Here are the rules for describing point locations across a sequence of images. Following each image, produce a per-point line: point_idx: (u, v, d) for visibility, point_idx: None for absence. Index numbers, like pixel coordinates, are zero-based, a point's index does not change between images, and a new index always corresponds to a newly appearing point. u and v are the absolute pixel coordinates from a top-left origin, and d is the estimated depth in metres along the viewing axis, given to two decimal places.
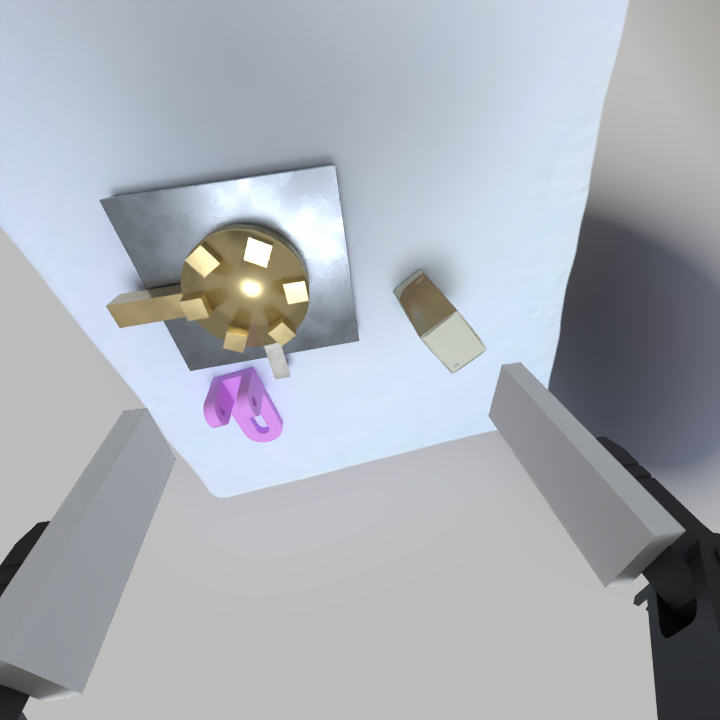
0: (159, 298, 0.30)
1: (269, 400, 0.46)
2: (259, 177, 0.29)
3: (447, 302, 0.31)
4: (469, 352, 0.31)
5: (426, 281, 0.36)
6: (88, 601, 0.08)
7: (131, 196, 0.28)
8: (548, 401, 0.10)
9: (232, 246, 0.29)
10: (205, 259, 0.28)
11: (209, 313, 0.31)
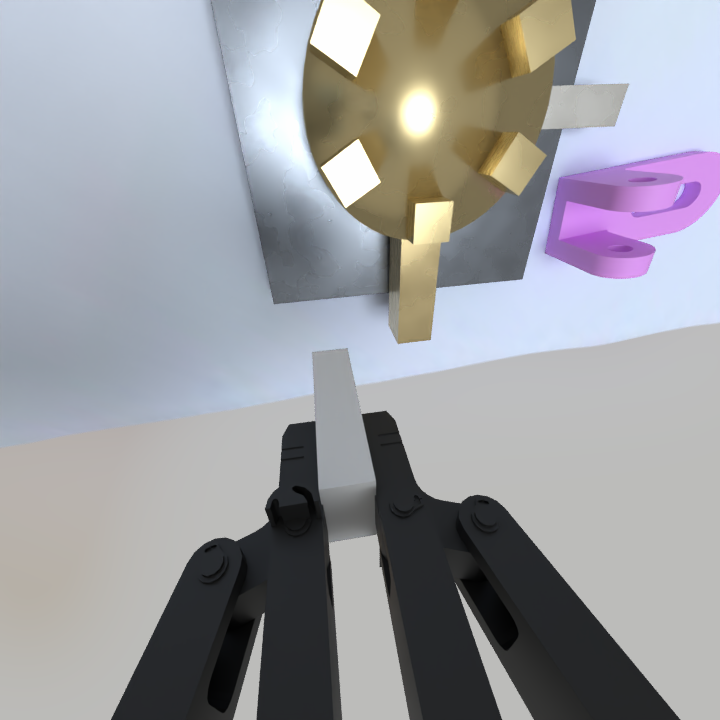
0: (401, 275, 0.20)
1: (640, 163, 0.23)
2: (217, 23, 0.15)
3: None
4: None
5: None
6: None
7: (267, 266, 0.21)
8: (345, 380, 0.12)
9: (333, 108, 0.15)
10: (347, 167, 0.15)
11: (446, 200, 0.17)
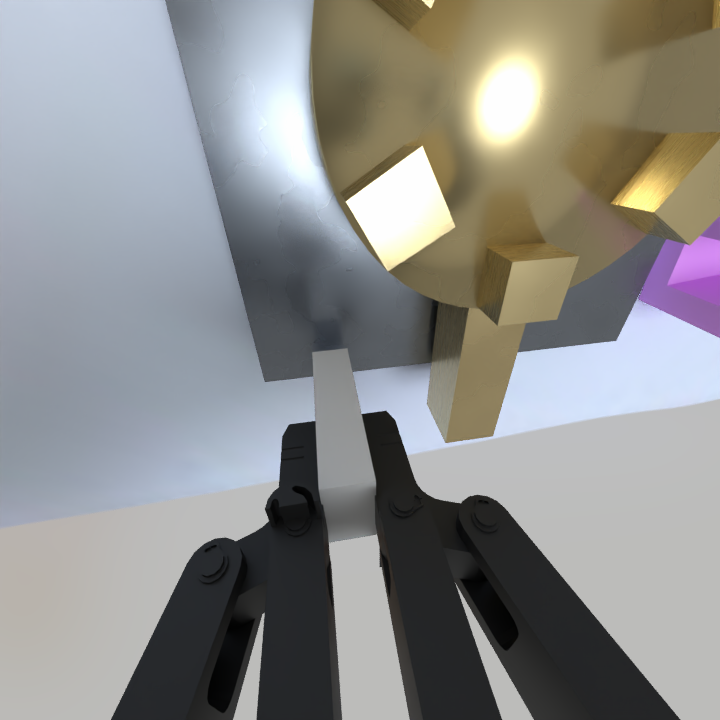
0: (462, 357, 0.13)
1: None
2: None
3: None
4: None
5: None
6: None
7: (254, 333, 0.14)
8: (345, 380, 0.12)
9: (370, 87, 0.07)
10: (397, 200, 0.07)
11: (561, 252, 0.09)
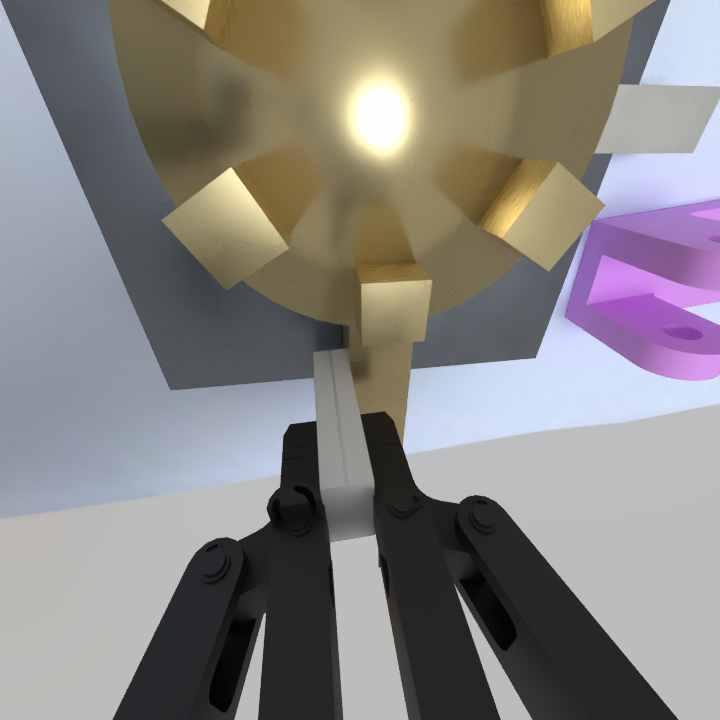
0: (352, 373, 0.12)
1: (709, 205, 0.16)
2: None
3: None
4: None
5: None
6: None
7: (151, 341, 0.14)
8: (344, 380, 0.12)
9: (192, 104, 0.07)
10: (217, 220, 0.07)
11: (420, 274, 0.09)
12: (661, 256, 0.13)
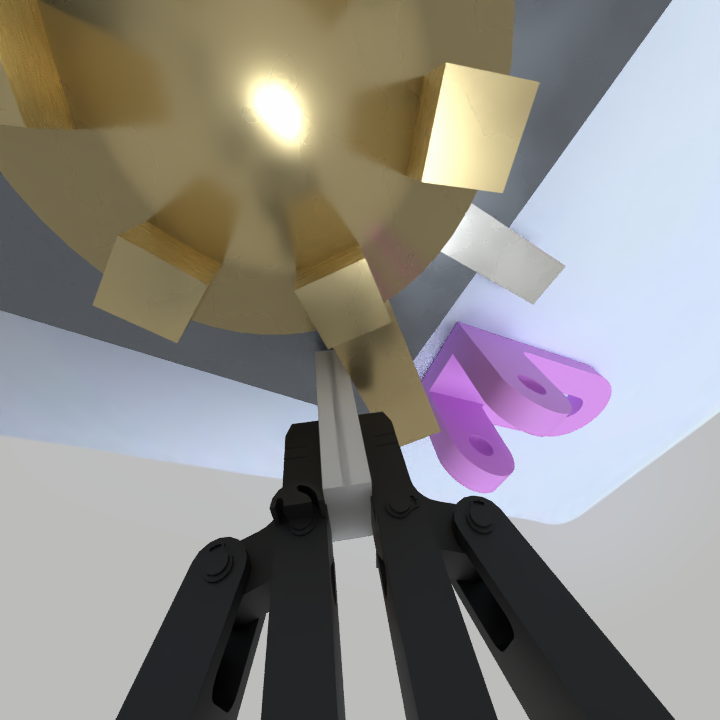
0: (350, 372, 0.12)
1: (540, 353, 0.19)
2: None
3: None
4: None
5: None
6: None
7: None
8: (342, 381, 0.12)
9: (80, 189, 0.08)
10: (134, 286, 0.08)
11: (355, 256, 0.08)
12: (483, 374, 0.15)
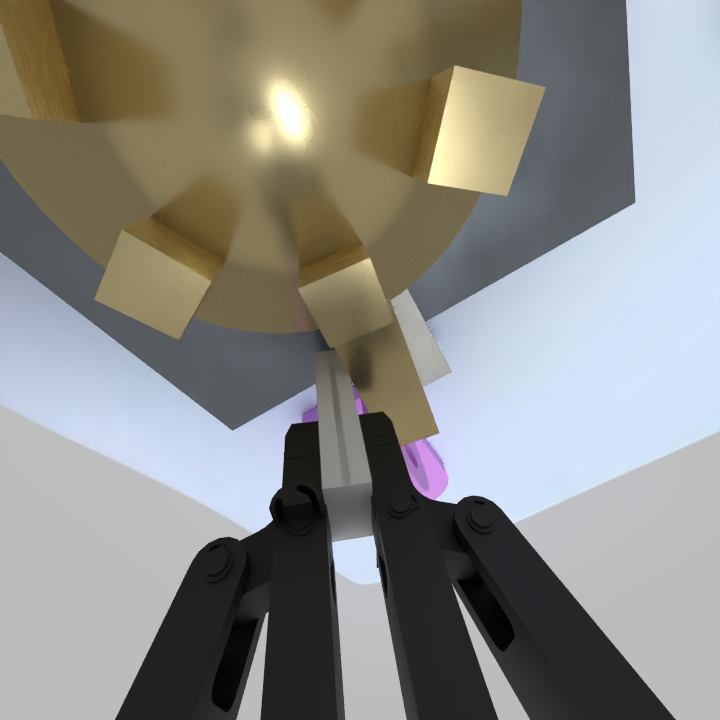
0: (350, 372, 0.12)
1: None
2: None
3: None
4: None
5: None
6: None
7: None
8: (342, 381, 0.12)
9: (84, 183, 0.08)
10: (137, 281, 0.08)
11: (360, 255, 0.08)
12: None
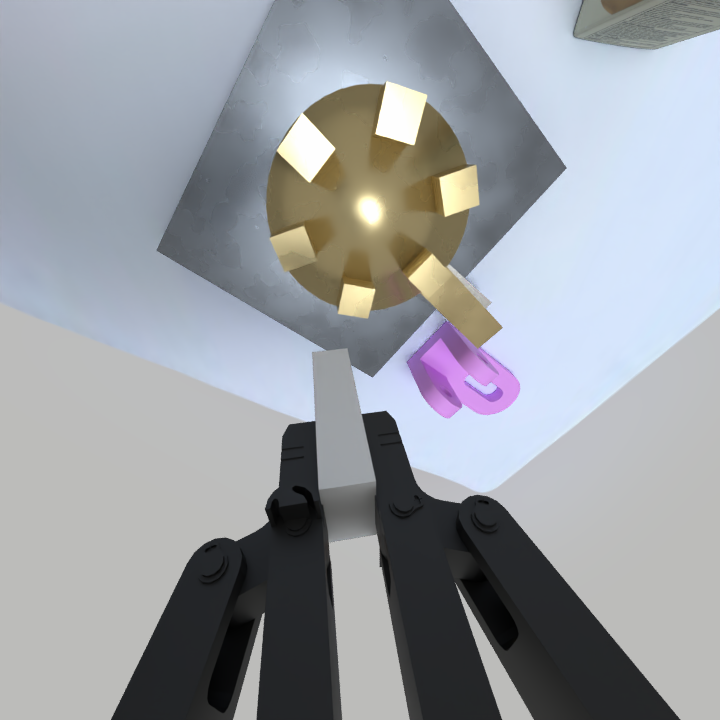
0: (440, 310, 0.23)
1: (486, 353, 0.32)
2: (265, 25, 0.16)
3: None
4: None
5: None
6: None
7: (174, 216, 0.20)
8: (345, 380, 0.12)
9: (319, 274, 0.20)
10: (351, 300, 0.20)
11: (427, 254, 0.19)
12: (458, 347, 0.27)
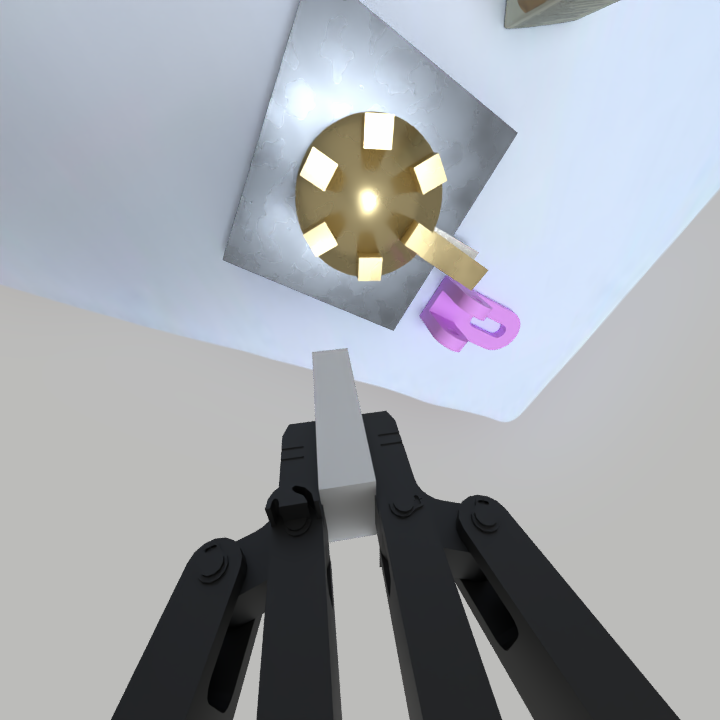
0: (434, 265, 0.30)
1: (485, 297, 0.38)
2: (275, 86, 0.24)
3: None
4: None
5: None
6: None
7: (231, 232, 0.29)
8: (345, 380, 0.12)
9: (340, 254, 0.28)
10: (366, 269, 0.27)
11: (416, 224, 0.26)
12: (456, 294, 0.34)
